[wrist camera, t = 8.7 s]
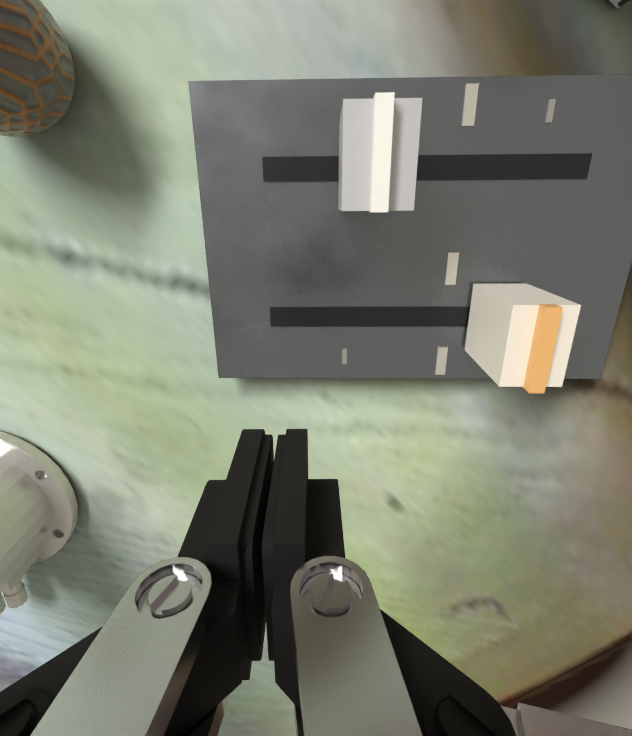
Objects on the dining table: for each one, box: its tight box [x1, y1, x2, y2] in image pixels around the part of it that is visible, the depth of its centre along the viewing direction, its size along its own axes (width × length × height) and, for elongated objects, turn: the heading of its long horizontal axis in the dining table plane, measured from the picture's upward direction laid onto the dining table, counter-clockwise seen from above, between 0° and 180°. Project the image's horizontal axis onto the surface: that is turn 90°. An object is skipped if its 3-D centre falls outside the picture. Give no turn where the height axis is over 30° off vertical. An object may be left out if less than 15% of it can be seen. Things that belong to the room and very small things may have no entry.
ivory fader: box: [465, 284, 581, 393], centre depth 21 cm, size 4×3×6 cm
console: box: [188, 74, 632, 379], centre depth 24 cm, size 16×24×2 cm, turn 90°
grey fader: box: [338, 92, 422, 212], centre depth 19 cm, size 4×3×6 cm
